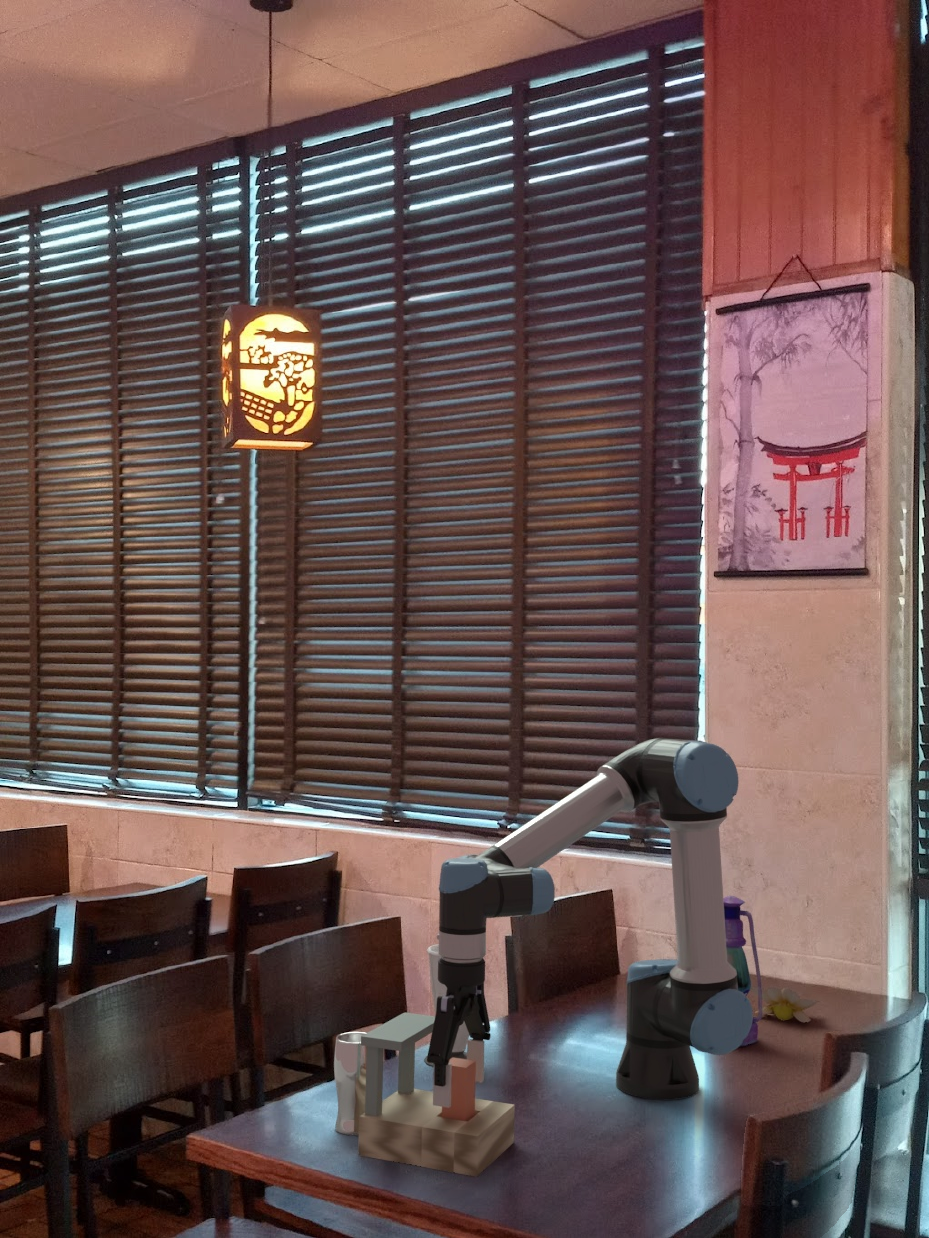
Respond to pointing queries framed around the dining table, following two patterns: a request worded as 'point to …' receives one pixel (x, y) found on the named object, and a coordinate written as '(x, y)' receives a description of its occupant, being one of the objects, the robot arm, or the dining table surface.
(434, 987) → the cup
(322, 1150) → the dining table surface
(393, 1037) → the grey toy table
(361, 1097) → the beer glass
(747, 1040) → the lantern
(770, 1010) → the decorative flower
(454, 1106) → the peg
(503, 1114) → the socket block
